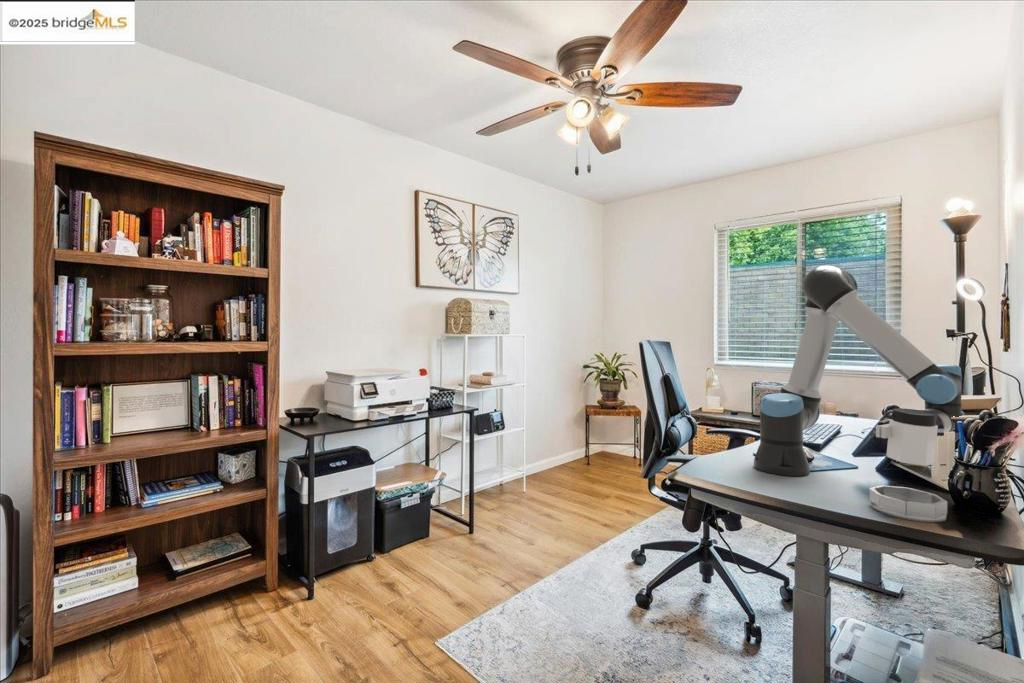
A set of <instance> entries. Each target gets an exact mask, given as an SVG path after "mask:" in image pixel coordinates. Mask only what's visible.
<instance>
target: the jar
mask: <svg viewBox="0 0 1024 683" xmlns="http://www.w3.org/2000/svg"><path fill="white" fill-rule="evenodd" d="M921 410H922V409H921ZM921 410H920V409H913V408H892V412H891V418H890V419H891V420H890V421H889V426H892V437H889V438H887V445H886V446H887V447H886V455H885V456H886V457H887V458H889V459H892V460H894V461H896V462H899V463H901V464H909V465H915V466H921V467H927V466H930V465H933V464H935V459H936V447H937V439H938V437H937V431H938V425H936V419H937V415H936V414H934V413H931V412H927V411H921Z"/></svg>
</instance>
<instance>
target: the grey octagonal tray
mask: <svg viewBox="0 0 1024 683" xmlns="http://www.w3.org/2000/svg"><path fill="white" fill-rule="evenodd" d="M869 501H870V503H869V505H870V507H871V508H872V509H873V510H875V511H877V512H879V513H881V514H885V515H887V516H890V517H893V518H896V519H897V518H898V519H900V520H901V519H902V520H906V521H907V520H908V521H913V522H919V523H929V522H937V523H943V522H946V520H947V515H948V501H947V500H946V499H944V498H943V497H941V496H940V495H937V494H936V493H933V492H932V493H931V492H928V491H925V490H924V491H923V490H920V489H916V488H911V487H906V486H905V487H904V486H894V485H885V484H884V485H877V486H872V487H869ZM942 521H943V522H942Z"/></svg>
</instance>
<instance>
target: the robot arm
mask: <svg viewBox="0 0 1024 683" xmlns="http://www.w3.org/2000/svg"><path fill="white" fill-rule="evenodd" d="M858 288H859V287H858V283H857V280H856V279H855V277H854V276H853V275H852V274H851V273H850V272H849V271H846V270H845V269H844V270H843V269H840V268H838V267H835V266H833V265H822V266H818V267H816V268H813V269H812V270H811V271H809V272H808V273H807V274H806V275H805V276H804V278H803V281H802V291H803V294H804V295H805V297H806V302H805V305H804V308H805V310H806V312H807V313H808V314H807V317H806V320H805V322H804V323H805V324H804V327H803V330H802V334H801V338H800V341H799V345H798V348H797V352H796V354H795V359H794V361H793V366H792V368H791V373H790V376H789V379H788V382H787V383H786V384H783V385H781V388H780V392H776V393H769V394H764V395H763V396H762V397H761V399H760V404H759V413H760V415H759V416H760V418H759V420H760V421H759V422H760V423H759V424H760V426H759V427H760V429H759V430H760V432H759V438H760V440H759V445H758V448H757V450H756V453H755V456H754V459H753V467H754V468H755V469H756V468H757V470H758V469H759V470H758V471H761V472H765V473H769V474H772V475H778V474H779V475H778V476H786V477H787V476H790V477H803V476H807V475H809V474H810V463H809V462H808V458H807V455H806V453H805V450H804V449H805V448H804V430H807V429H810V428H811V427H813V426H814V425H815V424H816V423H817V422H818V420H819V418H820V412H821V410H820V403H821V401H822V394H821V393H820V392H819V389H820V388H819V387H820V383H821V381H822V378H823V375H824V371H825V367H826V366H827V362H828V358H829V355H830V351H831V347H832V345H833V341H834V338H835V334H836V331H837V329H838V325H839V322H841V323H842V324H843V325H844V326H845V327H847V329H848V330H850V331H851V332H852V333H853V334H854V335H855V336H857V338H859V340H861V341H862V342H863V343H864V344H865V345H866V346H867V347H868V348H869V349H870V350H871V351H872V352H874V353H875V355H877V356H878V357H879V358H880V359H882V361H884V362H885V364H887V365H888V366H889V367H890V368H891V369H893V370H894V371H895V372H896V373H897V374H898V375H899V377H901V378H902V379H903V380H905V382H907V383H908V385H909V386H911V387H912V388H913V389H914V390H915V391H916V393H917V395H918V396H919V397H920V398H921V399H922V400H923V401H924V409H921V411H927V412H931V413H934V414H936V415H937V419H936V425H938V431H937V438H939V437H938V436H940V437H945V436H944V433H945V432H950V431H953V430H955V423H954V422H953V421H952V420H951V417H953V416H955V417H959V416H962V415H964V414H965V415H966V413H965V412H964V411H963V408H962V405H963V404H962V389H963V388H962V385H963V383H962V382H963V376H962V368H961V366H959V365H956V364H935V363H934V362H933V361H932V360H931V359H930V358H928V357H927V356H926V355H925V354H924V353H923V352H922V351H920V349H918V348H917V347H916V346H915V345H914V344H913V343H911V342H910V341H909V340H908V339H907V338H905V336H903V335H902V334H901V333H900V332H899V331H897V330H896V329H895V328H894V326H892V325H891V324H890V323H889V322H887V320H885V319H884V318H883V317H882V316H880V314H878V313H877V312H876V311H875V310H874V309H872V308H871V307H870V306H869V305H868V304H867V303H866V302H864V301H863V300H862V299H861V298H860V297H859V296H858V291H859V290H858ZM891 419H892V418H888V417H883V419H882V420H879V421H878V425H875V437H876V438H881V439H888V438H889V437H892V426H889V421H890V420H891Z"/></svg>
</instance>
